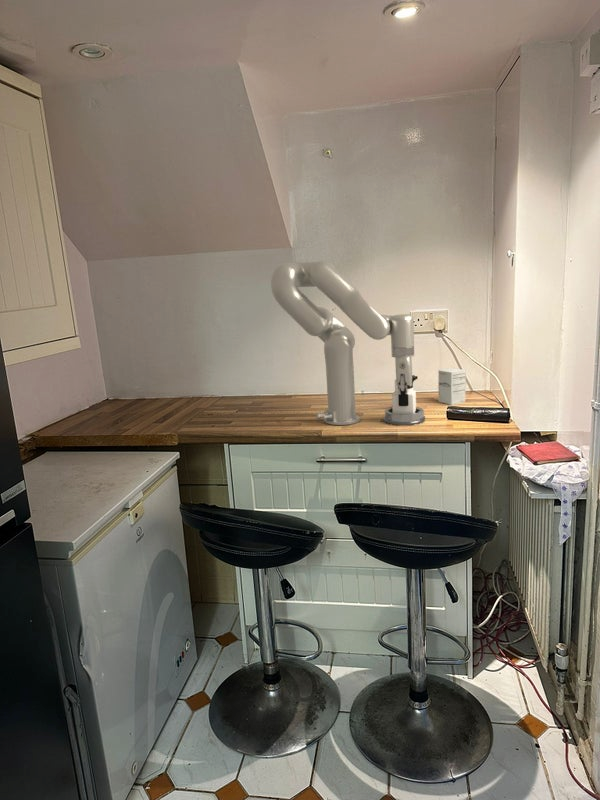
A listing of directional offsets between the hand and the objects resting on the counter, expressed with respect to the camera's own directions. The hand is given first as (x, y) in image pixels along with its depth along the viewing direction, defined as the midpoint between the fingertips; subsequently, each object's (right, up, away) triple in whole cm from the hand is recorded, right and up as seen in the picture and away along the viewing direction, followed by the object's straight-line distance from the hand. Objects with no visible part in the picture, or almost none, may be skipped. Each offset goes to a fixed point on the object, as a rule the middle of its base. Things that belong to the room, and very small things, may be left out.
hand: (404, 402), depth 196 cm
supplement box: (+22, 0, +23) cm, 32 cm away
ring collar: (0, -6, +1) cm, 6 cm away
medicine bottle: (0, -4, +1) cm, 4 cm away
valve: (+5, -2, +18) cm, 19 cm away
